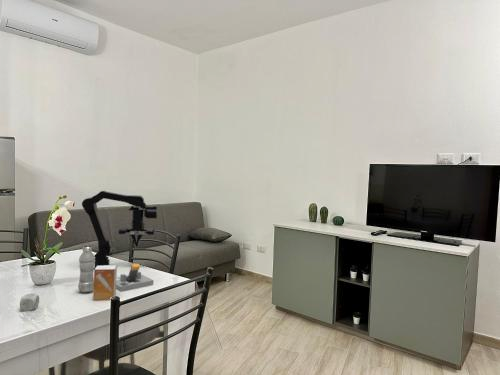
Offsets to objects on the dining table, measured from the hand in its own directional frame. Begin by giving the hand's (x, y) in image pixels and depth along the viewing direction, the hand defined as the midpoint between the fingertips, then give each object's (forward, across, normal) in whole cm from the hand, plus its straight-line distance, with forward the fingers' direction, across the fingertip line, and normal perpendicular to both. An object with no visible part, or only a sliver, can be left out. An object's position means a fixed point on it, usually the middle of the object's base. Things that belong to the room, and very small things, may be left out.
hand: (137, 246), depth 192 cm
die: (+12, +27, +58) cm, 65 cm away
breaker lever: (+10, -4, +28) cm, 30 cm away
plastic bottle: (+12, +13, +39) cm, 43 cm away
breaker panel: (+12, -4, +28) cm, 31 cm away
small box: (+12, +3, +46) cm, 48 cm away
